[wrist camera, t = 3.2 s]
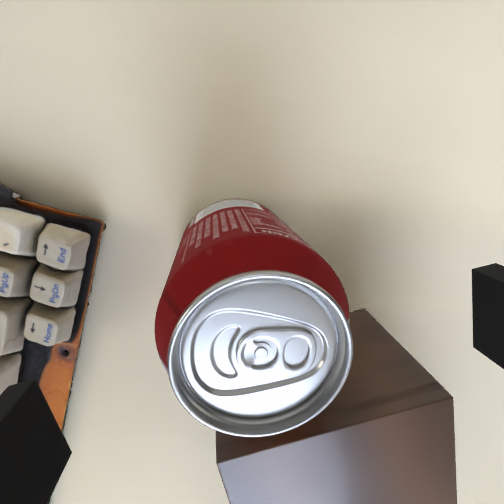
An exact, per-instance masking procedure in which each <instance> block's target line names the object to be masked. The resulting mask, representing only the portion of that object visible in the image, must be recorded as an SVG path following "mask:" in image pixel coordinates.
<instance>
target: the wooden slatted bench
mask: <svg viewBox="0 0 504 504" xmlns="http://www.w3.org/2000/svg"><path fill="white" fill-rule="evenodd" d="M349 326H350V329H351V333H352V339H353V356H352V363H351V367H350V370H349V373H348V376H347V378H346V381H345V383H344V385H343V386H342V388H341V390H340V391H339V393H338V394H337V396H336V397H335V398H334V399H333V401H332V402H331V403H330V404H329V405H328V406H327V407H326V408H325V409H324V410H323V411H322V412H320V413H319V414H318V415H317V416H315V417H314V418H313V419H311V420H309V421H308V422H306V423H304V424H302V425H300V426H299V427H296V428H294V429H292V430H289V431H286V432H283V433H279V434H275V435H270V436H262V437H241V436H234V435H230V434H225V433H222V432H219V431H216V463H217V466H218V469H219V472H220V475H221V478H222V481H223V484H224V487H225V490H226V493H227V496H228V499H229V502H230V504H457V490H456V462H455V434H454V406H453V397H452V396H451V395H450V394H449V393H448V392H447V391H446V390H445V389H444V387H443V386H442V385H441V384H440V383H439V382H438V381H437V380H436V379H435V378H434V377H433V376H432V375H431V374H430V373H429V372H428V371H427V370H426V369H425V368H424V367H423V366H422V365H421V364H420V363H419V362H418V361H416V360H415V359H414V358H413V357H412V356H411V355H410V354H409V353H408V352H407V351H406V350H405V349H404V348H403V347H402V346H401V345H400V344H399V343H398V342H397V341H396V340H395V339H394V338H393V337H392V336H391V335H390V334H389V333H388V332H387V331H386V330H385V329H384V328H383V327H382V326H381V325H380V324H379V323H378V322H377V321H376V320H375V319H374V318H373V317H372V316H371V315H370V314H369V313H368V312H367V311H366V310H365V309H363V310H359V311H356V312H352V313H349Z"/></svg>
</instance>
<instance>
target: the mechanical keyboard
mask: <svg viewBox="0 0 504 504" xmlns="http://www.w3.org/2000/svg"><path fill="white" fill-rule="evenodd" d="M20 197H21V195H19V194H16V193H13V191H12V190H10V189H8V188H6V187H5V186H4V185H1V184H0V395H1V394H2V393H3V391H4V390H5V389H6V388H7V387H8V386H10V385H14V384H18V383H22V382H26V381H30V380H34V379H36V381H37V383H38V385H39V387H40V389H41V391H42V393H43V395H44V397H45V399H46V401H47V403H48V405H49V407H50V409H51V411H52V413H53V415H54V417H55V419H56V421H57V423H58V425H59V427H60V429H61V431H63V428H64V424H65V423H64V422H65V417H66V413H67V406H68V405H67V403H68V400H69V397H70V394H71V391H70V388H71V386H72V380H73V373H74V368H75V363H76V360H77V355H78V349H79V347H80V342H81V333H82V330H83V321H84V316H85V314H86V309H87V306H88V305H89V303H88V297H89V294H90V292H91V291H92V290H91V284H92V278H93V275H94V269H95V264H96V259H97V254H98V249H99V244H100V239H101V234H102V232H103V231H104V230H105V228H106V224H105V223H104V222H102V221H101V220H97V219H94V218H90V217H86V216H81V215H78V214H74V213H68V212H65V211H61V210H58V209H55V208H51V207H47V206H43V205H39V204H37V203H32V202H28V201H26V200H21V199H20ZM65 350H67V351H68V354H66V353H65V352H64V351H65ZM49 502H50V499H49V501H48V503H47V504H49Z"/></svg>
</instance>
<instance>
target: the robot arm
mask: <svg viewBox="0 0 504 504" xmlns="http://www.w3.org/2000/svg"><path fill="white" fill-rule="evenodd" d="M472 305H473V347H474V348H475V349H477V350H478V351H480V352H481V353H482V354H484V355H485V356H486V357H488V358H489V359H491V360H492V361H493V362H495V363H496V364H497V365H499V366H500V367H501V368H503V369H504V266H502V265H499V264H497V263H495V264H491V265H487V266H483V267H479V268H475V269H472ZM71 453H72V452H71V450H70V448H69V446H68V444H67V442H66V439H65V437H64V435H63V433H62V431H61V429H60V427H59V425H58V423H57V421H56V419H55V417H54V415H53V413H52V411H51V409H50V407H49V405H48V403H47V401H46V399H45V397H44V395H43V393H42V391H41V389H40V387H39V385H38V383H37V381H36V379H34V380H30V381H26V382H22V383H18V384H14V385H10V386H8V387H7V388H6V389H5V390H4V391H3V393H2V394H1V395H0V504H47V503H48V501H49V499H50V497H51V495H52V493H53V490H54V488H55V486H56V484H57V482H58V480H59V478H60V476H61V474H62V472H63V470H64V468H65V466H66V464H67V462H68V459H69V457H70V455H71Z"/></svg>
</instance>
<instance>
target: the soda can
mask: <svg viewBox="0 0 504 504" xmlns="http://www.w3.org/2000/svg"><path fill="white" fill-rule="evenodd" d="M155 340H156V345H157V350H158V353H159V356H160V359H161V361H162V363H163V366H164V367H165V369H166V371H167V373H168V375H169V380H170V383H171V386H172V389H173V391H174V393H175V395H176V397H177V399H178V400H179V402H180V403H181V404H182V406H183V407H184V408H185V409H186V410H187V411H188V413H189V414H191V415H192V416H193V417H194V418H195V419H197V420H198V421H199V422H201V423H202V424H204V425H206V426H208V427H210V428H212V429H214V430H216V431H219V432H222V433H225V434H230V435H234V436H241V437H262V436H270V435H275V434H279V433H283V432H286V431H289V430H292V429H294V428H296V427H299V426H300V425H302V424H304V423H306V422H308V421H309V420H311V419H313V418H314V417H315V416H317V415H318V414H319V413H320V412H322V411H323V410H324V409H325V408H326V407H327V406H328V405H329V404H330V403H331V402H332V401H333V399H334V398H335V397H336V396H337V394H338V393H339V391H340V390H341V388H342V386H343V385H344V383H345V381H346V378H347V376H348V373H349V370H350V367H351V363H352V356H353V339H352V333H351V329H350V326H349V306H348V301H347V297H346V294H345V291H344V288H343V286H342V284H341V282H340V280H339V278H338V276H337V275H336V273H335V272H334V270H333V269H332V268H331V267H330V265H329V264H328V263H327V262H326V261H325V260H324V259H323V258H322V257H321V256H320V255H319V254H318V253H316V252H315V251H314V250H313V249H312V248H311V247H310V246H309V245H308V244H307V243H305V242H304V241H303V240H302V239H301V238H300V237H299V236H298V235H297V234H296V233H294V232H293V231H292V230H291V229H290V228H289V227H288V226H287V225H286V224H285V223H283V222H282V221H281V220H280V219H279V218H278V217H277V216H276V215H275V214H274V213H272V212H271V211H270V210H269V209H267V208H266V207H264V206H262V205H261V204H258V203H256V202H253V201H250V200H245V199H227V200H222V201H218V202H215V203H213V204H211V205H209V206H207V207H205V208H204V209H203V210H201V211H200V212H199V213H198V214H197V215H196V216H195V217H194V218H193V219H192V220H191V221H190V223H189V224H188V226H187V228H186V230H185V232H184V234H183V237H182V239H181V242H180V245H179V248H178V251H177V253H176V256H175V259H174V262H173V265H172V267H171V270H170V273H169V276H168V279H167V281H166V284H165V287H164V290H163V293H162V295H161V298H160V301H159V304H158V308H157V312H156V319H155Z"/></svg>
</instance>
